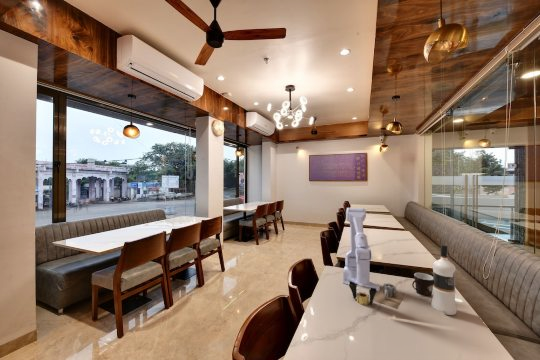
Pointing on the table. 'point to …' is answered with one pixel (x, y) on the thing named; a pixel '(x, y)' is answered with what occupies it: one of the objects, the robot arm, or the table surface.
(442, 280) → the vodka
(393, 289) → the steel gear
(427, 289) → the coffee mug
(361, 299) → the brass gear
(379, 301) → the board
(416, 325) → the table surface
